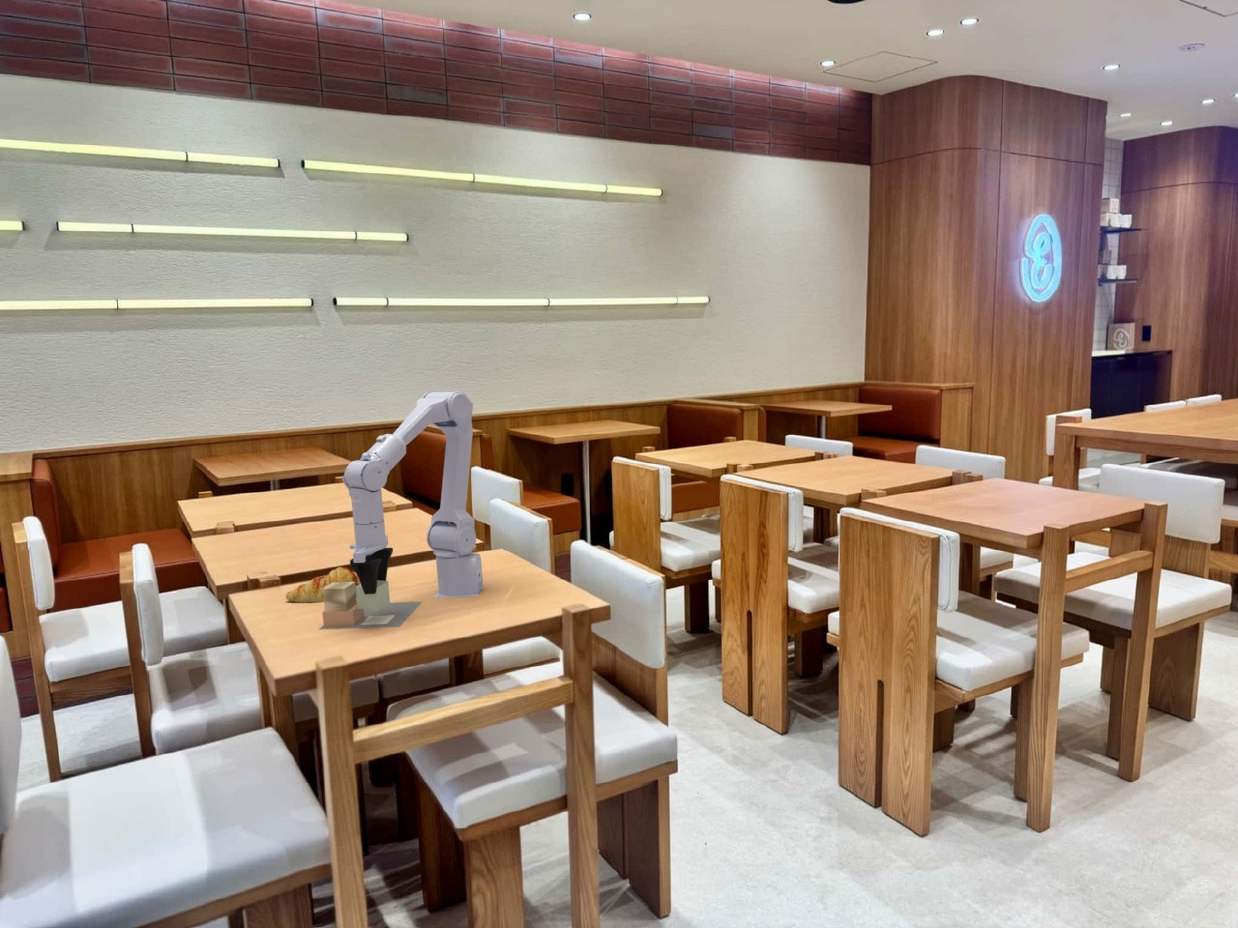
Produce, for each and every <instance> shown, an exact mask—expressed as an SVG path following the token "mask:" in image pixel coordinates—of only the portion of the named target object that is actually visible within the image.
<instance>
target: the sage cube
mask: <svg viewBox="0 0 1238 928" xmlns="http://www.w3.org/2000/svg"><path fill="white" fill-rule="evenodd" d="M356 599H357V609H365V610H377V611H378V610H380V609H381V608H382V607H384V606H385V605H387V604H388V603H391V599H390V586H389V580H386V581H382V580H377V590H376V593H375V594H364V591H363V589H362V586H361V584H360V585H358V586H356Z"/></svg>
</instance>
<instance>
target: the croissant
mask: <svg viewBox="0 0 1238 928" xmlns="http://www.w3.org/2000/svg"><path fill="white" fill-rule="evenodd" d="M333 582H355V589H356V586H358V585H360V584H361V583H360V580H359V578H358V576H357V574H356V572H355V571H351V569H349V567H348V568H347V567H342V566H338V567H336V568H335V569H332V570H331V571H329V573H328V574H327V575H321V576H317V577H314V578H312V579H311V581H307V582H306V583H303V584H299V585H297V587H295V588H294V589H293V590H290V591H286V594H285V598H286V599H285V600H287V601H289V602H292V603H300V604H301V603H303V604H304V603H324V596H323V588H325V587H326V586H328V585H330V584H331V583H333Z"/></svg>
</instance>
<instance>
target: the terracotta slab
mask: <svg viewBox="0 0 1238 928" xmlns="http://www.w3.org/2000/svg"><path fill="white" fill-rule="evenodd" d="M321 614H322V620H323V621H322V622H323V625H324V627H334V626H354V625H356V624H357V623H358V622H359V621H360V620H361V619H362V618H363V617H364V616H365V614H364V609H357V604H356V605H355V606H353V607H352V608H350V609H349V610H347V611H325V609H324V610H323V611H322V613H321Z"/></svg>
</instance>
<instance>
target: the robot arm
mask: <svg viewBox="0 0 1238 928" xmlns="http://www.w3.org/2000/svg"><path fill="white" fill-rule="evenodd" d="M415 405H416V406H415V407H414V409H413V410H411V412H410V413H409V415H407V417H406V418H405V419H404V420H403V421H402V423H401V424H400V425H399V426H398V427H397V428H396V430H395V431H394V432H393V433H391V434H390V433H386V434H383V435H379V436H378V437H377V438H376V440H375V441H376V442H375V443H374V444H373V445H372V446H371V447H370V448H369V449H368V450H367V451H366V452H363V453H362V455H361V457H360V459H359V460H358V459H357V460H352V461H351V462H350V463H349V464H348V465H347V467H346V468H345V470H344V475H343V476H342V477H341V478H342V482H343V485H344V486H345V487H346V488H347V490H348V493H349V495H348V496H349V497H350V499H351V509H352V520H353V530H354V540H355V541H354V543H351V544H350V545H349V549H350V550H354V552H353V553H352V559H350V560H349V565H350V566H351V568H352V569H353V570H354V572H356V574H357V576H358V578H359V580H360V583H361V586H362V589H363V591H364V594H375V593H376V590H377V580H382V581H387V577H388V570H389V569H388V568H389V563H390V560H391V557H392V554H393V552H394V548H393V547H388V545H389V538H388V537H389V536H388V535H386V526H385V517H384V505H383V503H384V502H383V493H382V488H383V487H385V485H386V483H387V480H388V476H389V474H390V471H392V469H393V468H394V467H395V466H396V465H397V464H398V463H399V462H400V461H401V460H402V459H403V457H405V455H406V454H407V446H408V444H410V443H411V442H412V441H413V440H414V439H415V438H416V437H417V436H418V435H420V434H421V433H422V432H423V431H424V430H425V429H426V428H427V427H428V426H429V425H430V424H432V425H434V426H435V427H436V428H438V429H439V430H441V432H442V433H443V434H444V436H445V437H446V439H445V450H444V451H445V453H444V464H443V474H442V486H441V494H440V495H441V497H440V505H439V507H440V508H439V509H437V511H436V512H435V513H434V514H432V516H431V518H430V525H429V528H428V529H427V532H426V543H427V546H428V547H429V549H431V550H432V553H433V555H435V563H436V575H437V587H438V589H437V590H438V591H437V592H436V593H435V594H434V595H433V598H434V599H435V598H458V597H459V598H463V597H477V596H478V595H480V593H481V591H482V589H483V588H484V581H483V566H482V559H481V554H480V553H478V552H477V553H476V552H473V549H474V548H475V546H476V543H477V535H476V530H475V519H474V517H472V516H471V514H469V512H467V501H468V490H469V487H468V486H469V477H470V467H471V454H472V445H473V436H474V435H473V433H474V432H473V430H474V429H473V421H472V420H473V408H474V407H473V406H474V404H473V402H472V401H471V399H470V398H469V397H468V395H467V394H466V393H465V392H464V391H461V390H457V391H427V392H425V393H424V394H423V395H422V396H421V398H418V400H416V403H415Z"/></svg>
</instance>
